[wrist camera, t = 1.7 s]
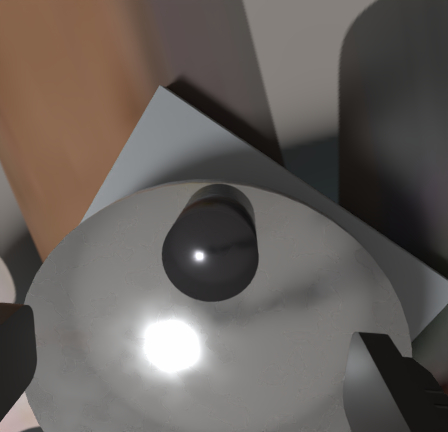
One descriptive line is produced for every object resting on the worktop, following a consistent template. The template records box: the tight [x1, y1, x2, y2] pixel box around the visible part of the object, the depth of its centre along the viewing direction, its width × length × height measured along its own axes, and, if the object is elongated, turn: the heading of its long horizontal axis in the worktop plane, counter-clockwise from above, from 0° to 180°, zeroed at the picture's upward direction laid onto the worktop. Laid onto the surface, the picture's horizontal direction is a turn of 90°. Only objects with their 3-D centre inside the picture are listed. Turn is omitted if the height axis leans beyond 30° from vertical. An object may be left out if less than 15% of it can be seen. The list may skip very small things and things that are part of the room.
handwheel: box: [24, 179, 412, 432], centre depth 22 cm, size 25×25×8 cm
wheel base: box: [80, 85, 448, 342], centre depth 29 cm, size 26×26×6 cm
